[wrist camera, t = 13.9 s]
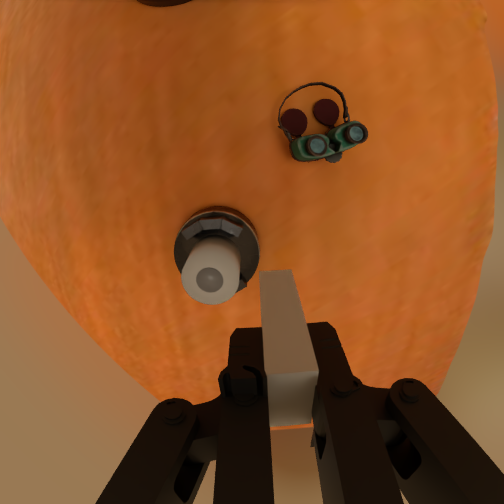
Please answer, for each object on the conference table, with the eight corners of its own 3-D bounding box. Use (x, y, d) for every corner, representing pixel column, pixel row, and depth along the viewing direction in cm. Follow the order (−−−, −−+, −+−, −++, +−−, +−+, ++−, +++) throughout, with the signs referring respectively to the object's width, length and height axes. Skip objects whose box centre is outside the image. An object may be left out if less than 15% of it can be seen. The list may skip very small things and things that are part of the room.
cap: (188, 236, 36) (176, 255, 31) (238, 232, 36) (236, 251, 31) (194, 281, 39) (185, 306, 33) (242, 279, 39) (241, 304, 33)
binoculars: (349, 60, 23) (385, 150, 26) (327, 85, 34) (354, 153, 36) (266, 82, 25) (304, 176, 27) (265, 104, 35) (293, 173, 37)
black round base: (175, 208, 39) (164, 219, 34) (257, 202, 39) (258, 213, 34) (185, 281, 43) (178, 300, 38) (260, 278, 43) (262, 297, 38)
